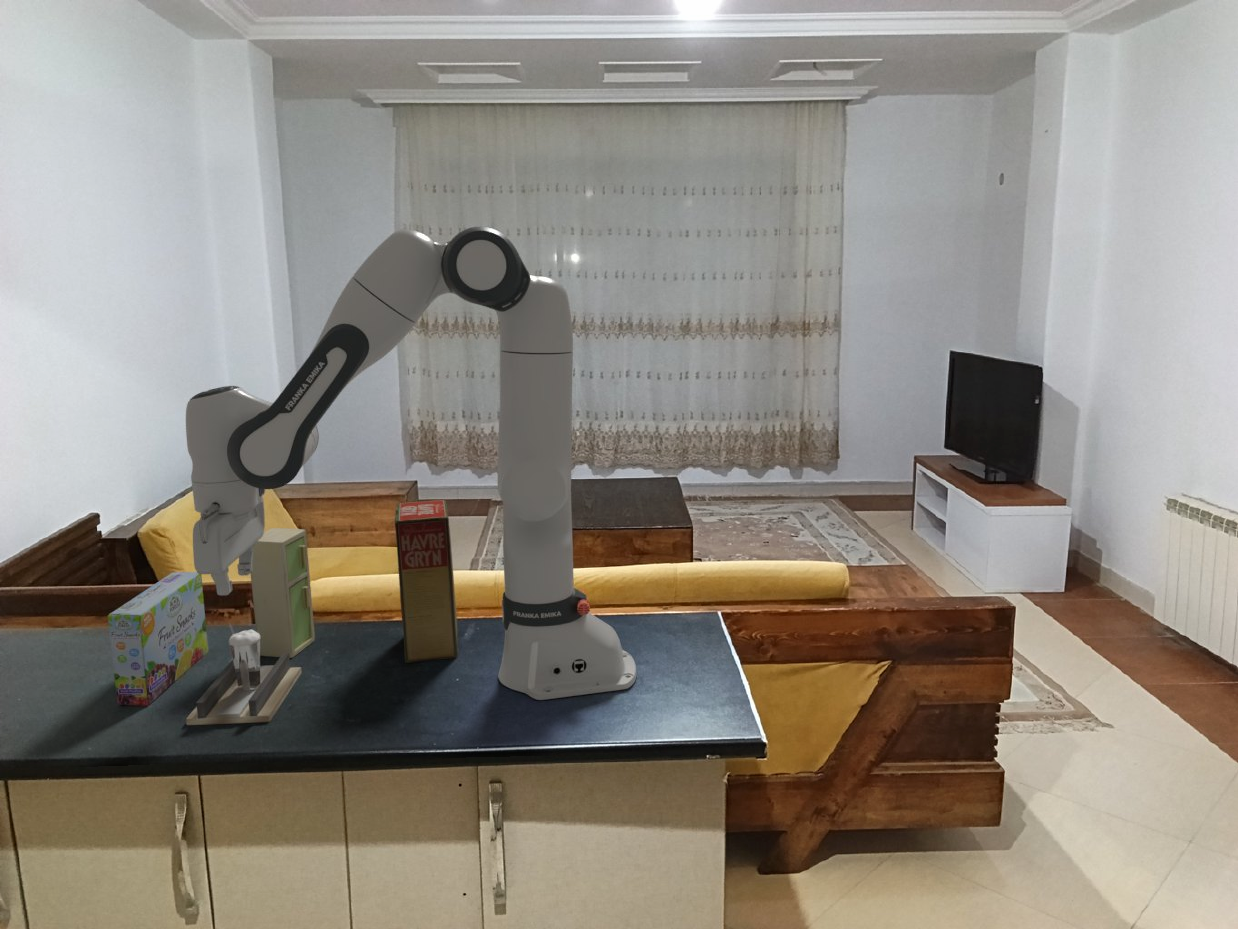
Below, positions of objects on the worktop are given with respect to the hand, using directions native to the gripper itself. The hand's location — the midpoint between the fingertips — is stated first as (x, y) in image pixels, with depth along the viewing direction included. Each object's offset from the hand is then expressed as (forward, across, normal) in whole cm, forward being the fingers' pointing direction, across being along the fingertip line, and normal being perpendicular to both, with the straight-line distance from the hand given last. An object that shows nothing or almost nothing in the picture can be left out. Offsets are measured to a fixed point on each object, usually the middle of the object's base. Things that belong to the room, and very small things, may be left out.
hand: (235, 583), depth 140 cm
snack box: (+19, +9, +16) cm, 26 cm away
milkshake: (+17, +1, 0) cm, 17 cm away
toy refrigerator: (+19, +19, -1) cm, 27 cm away
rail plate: (+19, 0, 0) cm, 19 cm away
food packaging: (+19, +18, -26) cm, 37 cm away
